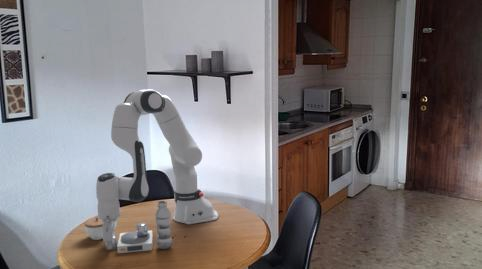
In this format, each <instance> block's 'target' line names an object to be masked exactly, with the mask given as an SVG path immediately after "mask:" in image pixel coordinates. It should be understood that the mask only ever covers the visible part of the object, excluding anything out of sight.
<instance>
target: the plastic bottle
mask: <svg viewBox="0 0 482 269" xmlns="http://www.w3.org/2000/svg"><path fill="white" fill-rule="evenodd" d="M154 218H155V224H156V240H155V245H156V247H157V248H158V249H160V250H167V249H170V248H171V247H172V244H173V239H172V234H171V218H172V212H171V211H170V209H169V208H168V202H167V200H166V201H165V200H160V201H158V202H157V210H156V212H155V214H154Z"/></svg>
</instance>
